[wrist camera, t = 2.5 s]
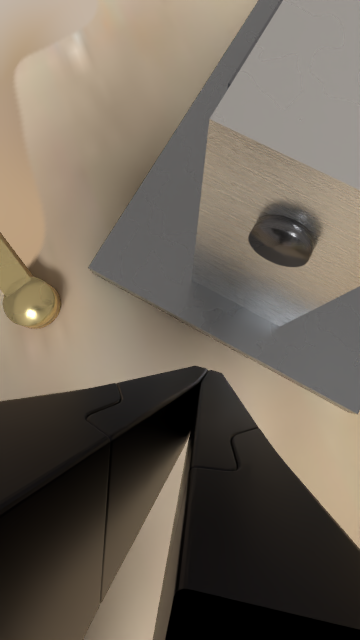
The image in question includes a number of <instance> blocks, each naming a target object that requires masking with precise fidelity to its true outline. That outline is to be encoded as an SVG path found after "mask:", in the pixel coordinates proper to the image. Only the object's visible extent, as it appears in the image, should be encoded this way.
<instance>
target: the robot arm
mask: <svg viewBox="0 0 360 640" xmlns="http://www.w3.org/2000/svg"><path fill="white" fill-rule="evenodd" d="M189 435H190V436H189ZM188 438H189V441H188V446H187V452H186V457H185V463H184V468H183V474H182V479H181V485H180V490H179V496H178V502H177V507H176V513H175V518H174V524H173V529H172V535H171V541H170V546H169V552H168V557H167V563H166V568H165V574H164V580H163V585H162V591H161V596H160V602H159V607H158V613H157V618H156V624H155V630H154V635H153V640H360V549H359V548H358V547H357V545H356V544H355V543H354V542H353V541H352V540H351V538H350V537H349V536H348V535H347V534H346V533H345V531H344V530H343V529H342V528H341V527H340V526H339V525H338V523H337V522H336V521H335V520H334V519H333V518H332V516H331V515H330V514H329V513H328V512H327V511H326V510H325V508H324V507H323V506H322V505H321V504H320V503H319V501H318V500H317V499H316V498H315V497H314V496H313V495H312V493H311V492H310V491H309V490H308V489H307V488H306V486H305V485H304V484H303V483H302V482H301V481H300V479H299V478H298V477H297V476H296V475H295V474H294V473H293V471H292V470H291V469H290V468H289V467H288V465H287V464H286V463H285V462H284V461H283V459H282V458H281V457H280V456H279V455H278V453H277V452H276V451H275V449H274V448H273V447H272V445H271V444H270V443H269V441H268V440H267V438H266V437H265V436H264V434H263V433H262V431H261V430H260V429H259V428H258V426H257V425H256V423H255V422H254V420H253V419H252V417H251V416H250V414H249V413H248V411H247V410H246V408H245V407H244V405H243V404H242V402H241V401H240V399H239V398H238V396H237V395H236V393H235V392H234V390H233V389H232V387H231V386H230V384H229V383H228V381H227V380H226V378H225V377H224V375H223V374H222V373H219V372H216V371H212V370H209V371H208V370H207V369H205V368H202V367H198V366H192V367H188V368H183V369H179V370H174V371H170V372H165V373H160V374H156V375H151V376H147V377H142V378H138V379H133V380H129V381H124V382H120V383H117V384H116V383H113V384H108V385H104V386H98V387H93V388H88V389H82V390H76V391H70V392H63V393H56V394H49V395H42V396H35V397H28V398H21V399H14V400H7V401H0V640H83V638H84V636H85V634H86V632H87V630H88V628H89V626H90V624H91V622H92V620H93V617H94V615H95V614H96V612H97V610H98V608H99V605H100V603H101V602H102V600H103V598H104V597H105V595H106V593H107V591H108V589H109V587H110V585H111V583H112V581H113V580H114V578H115V576H116V574H117V572H118V570H119V568H120V566H121V564H122V563H123V561H124V559H125V557H126V555H127V553H128V551H129V549H130V548H131V546H132V544H133V542H134V540H135V538H136V536H137V534H138V532H139V531H140V529H141V527H142V525H143V523H144V521H145V519H146V517H147V515H148V514H149V512H150V510H151V508H152V506H153V504H154V502H155V500H156V499H157V497H158V495H159V493H160V491H161V489H162V487H163V485H164V483H165V482H166V480H167V478H168V476H169V474H170V472H171V470H172V468H173V466H174V465H175V463H176V461H177V459H178V457H179V455H180V453H181V451H182V450H183V448H184V446H185V444H186V442H187V440H188Z"/></svg>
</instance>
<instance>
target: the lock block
mask: <svg viewBox="0 0 360 640" xmlns="http://www.w3.org/2000/svg"><path fill="white" fill-rule="evenodd" d="M192 280H193V281H195V282H197V283H199V284H201V285H202V286H204V287H206V288H208V289H210V290H212V291H214V292H216V293H218V294H219V295H221V296H223V297H225V298H227V299H229V300H231V301H233V302H234V303H236V304H238V305H240V306H242V307H244V308H246V309H248V310H250V311H251V312H253V313H255V314H257V315H259V316H261V317H263V318H265V319H267V320H268V321H270V322H272V323H274V324H276V325H278V326H282V325H284V324H286V323H288V322H290V321H292V320H294V319H296V318H298V317H300V316H302V315H304V314H306V313H308V312H310V311H312V310H314V309H316V308H318V307H320V306H322V305H323V304H325V303H327V302H329V301H331V300H333V299H335V298H337V297H339V296H341V295H343V294H345V293H347V292H349V291H351V290H353V289H355V288H357V287H359V286H360V0H283V1H282V3H281V4H280V6H279V8H278V9H277V11H276V13H275V14H274V16H273V17H272V19H271V21H270V22H269V24H268V25H267V27H266V29H265V30H264V32H263V33H262V35H261V37H260V38H259V40H258V42H257V43H256V45H255V46H254V48H253V50H252V51H251V53H250V54H249V56H248V58H247V59H246V61H245V62H244V64H243V66H242V67H241V69H240V71H239V72H238V74H237V75H236V77H235V79H234V80H233V82H232V83H231V85H230V87H229V88H228V90H227V92H226V93H225V95H224V96H223V98H222V100H221V101H220V103H219V104H218V106H217V108H216V109H215V111H214V112H213V114H212V116H211V117H210V119H209V128H208V137H207V146H206V155H205V164H204V173H203V182H202V191H201V200H200V209H199V218H198V226H197V235H196V244H195V253H194V262H193V271H192Z"/></svg>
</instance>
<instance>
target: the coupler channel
mask: <svg viewBox="0 0 360 640" xmlns="http://www.w3.org/2000/svg"><path fill="white" fill-rule="evenodd" d="M282 1H283V0H259V1H258V2H257V4H256V5H255V7H254V8H253V10H252V12H251V13H250V15H249V16H248V18H247V19H246V21H245V23H244V24H243V26H242V27H241V29H240V30H239V32H238V34H237V35H236V37H235V38H234V40H233V41H232V43H231V45H230V46H229V48H228V49H227V51H226V52H225V54H224V55H223V57H222V59H221V60H220V62H219V63H218V65H217V66H216V68H215V70H214V71H213V73H212V74H211V76H210V77H209V79H208V81H207V82H206V84H205V85H204V87H203V88H202V90H201V92H200V93H199V95H198V96H197V98H196V99H195V101H194V102H193V104H192V106H191V107H190V109H189V110H188V112H187V113H186V115H185V117H184V118H183V120H182V121H181V123H180V124H179V126H178V128H177V129H176V131H175V132H174V134H173V135H172V137H171V139H170V140H169V142H168V143H167V145H166V146H165V148H164V150H163V151H162V153H161V154H160V156H159V157H158V159H157V160H156V162H155V164H154V165H153V167H152V168H151V170H150V171H149V173H148V175H147V176H146V178H145V179H144V181H143V182H142V184H141V186H140V187H139V189H138V190H137V192H136V193H135V195H134V197H133V198H132V200H131V201H130V203H129V204H128V206H127V207H126V209H125V211H124V212H123V214H122V215H121V217H120V218H119V220H118V222H117V223H116V225H115V226H114V228H113V229H112V231H111V233H110V234H109V236H108V237H107V239H106V240H105V242H104V244H103V245H102V247H101V248H100V250H99V251H98V253H97V254H96V256H95V258H94V259H93V261H92V262H91V264H90V265H89V267H88V268H89V269H90V270H91V272H92V273H94V274H96V275H97V276H99V277H101V278H103V279H105V280H107V281H108V282H110V283H112V284H114V285H116V286H118V287H119V288H121V289H123V290H125V291H127V292H129V293H130V294H132V295H134V296H136V297H138V298H140V299H141V300H143V301H145V302H147V303H149V304H151V305H152V306H154V307H156V308H158V309H160V310H162V311H163V312H165V313H167V314H169V315H171V316H173V317H174V318H176V319H178V320H180V321H182V322H184V323H185V324H187V325H189V326H191V327H193V328H195V329H196V330H198V331H200V332H202V333H204V334H206V335H207V336H209V337H211V338H213V339H215V340H217V341H218V342H220V343H222V344H224V345H226V346H228V347H230V348H231V349H233V350H235V351H237V352H239V353H241V354H242V355H244V356H246V357H248V358H250V359H252V360H253V361H255V362H257V363H259V364H261V365H263V366H264V367H266V368H268V369H270V370H272V371H274V372H275V373H277V374H279V375H281V376H283V377H285V378H286V379H288V380H290V381H292V382H294V383H296V384H297V385H299V386H301V387H303V388H305V389H307V390H308V391H310V392H312V393H314V394H316V395H318V396H319V397H321V398H323V399H325V400H327V401H329V402H330V403H332V404H334V405H336V406H338V407H340V408H341V409H343V410H345V411H347V412H349V413H354V414H358V413H359V411H360V286H359V287H357V288H355V289H353V290H351V291H349V292H347V293H345V294H343V295H341V296H339V297H337V298H335V299H333V300H331V301H329V302H327V303H325V304H323V305H322V306H320V307H318V308H316V309H314V310H312V311H310V312H308V313H306V314H304V315H302V316H300V317H298V318H296V319H294V320H292V321H290V322H288V323H286V324H284V325H282V326H278V325H276V324H274V323H272V322H270V321H268V320H267V319H265V318H263V317H261V316H259V315H257V314H255V313H253V312H251V311H250V310H248V309H246V308H244V307H242V306H240V305H238V304H236V303H234V302H233V301H231V300H229V299H227V298H225V297H223V296H221V295H219V294H218V293H216V292H214V291H212V290H210V289H208V288H206V287H204V286H202V285H201V284H199V283H197V282H195V281H193V280H192V271H193V262H194V253H195V244H196V235H197V226H198V218H199V209H200V200H201V191H202V182H203V173H204V164H205V155H206V146H207V137H208V128H209V119H210V117H211V116H212V114H213V112H214V111H215V109H216V108H217V106H218V104H219V103H220V101H221V100H222V98H223V96H224V95H225V93H226V92H227V90H228V88H229V87H230V85H231V83H232V82H233V80H234V79H235V77H236V75H237V74H238V72H239V71H240V69H241V67H242V66H243V64H244V62H245V61H246V59H247V58H248V56H249V54H250V53H251V51H252V50H253V48H254V46H255V45H256V43H257V42H258V40H259V38H260V37H261V35H262V33H263V32H264V30H265V29H266V27H267V25H268V24H269V22H270V21H271V19H272V17H273V16H274V14H275V13H276V11H277V9H278V8H279V6H280V4H281V3H282Z"/></svg>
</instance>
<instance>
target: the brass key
mask: <svg viewBox="0 0 360 640" xmlns="http://www.w3.org/2000/svg"><path fill="white" fill-rule="evenodd" d="M0 289H1V291H2V292H3V294H4V298H3V308H4V311H5V314H6V315H7V317H8V318H9V319H10V320H11V321H13V322H14V323H16V324H19V325H22V326H25V327H28V328H33V329H37V328H42V327H45V326H47V325H49V324H50V323H52V322H53V321H54V320H55V318H56V317H57V315H58V314H59V311H60V307H61V301H60V297H59V294H58V293H57V291H56V290H55V289H54V288H53V287H52V286H50V285H49V284H47V283H46V282H45V281H43V280H41V279H39V278H36V277H34V276H33V275H32V274H31V272H30V271H29V270H28V268H27V267H26V266H25V264H24V263H23V262H22V260H21V259H20V258H19V257H18V255H17V254H16V253H15V251H14V250H13V249H12V247H11V246H10V245H9V243H8V242H7V241H6V239H5V238H4V237H3V235H2V234H1V233H0Z"/></svg>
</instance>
